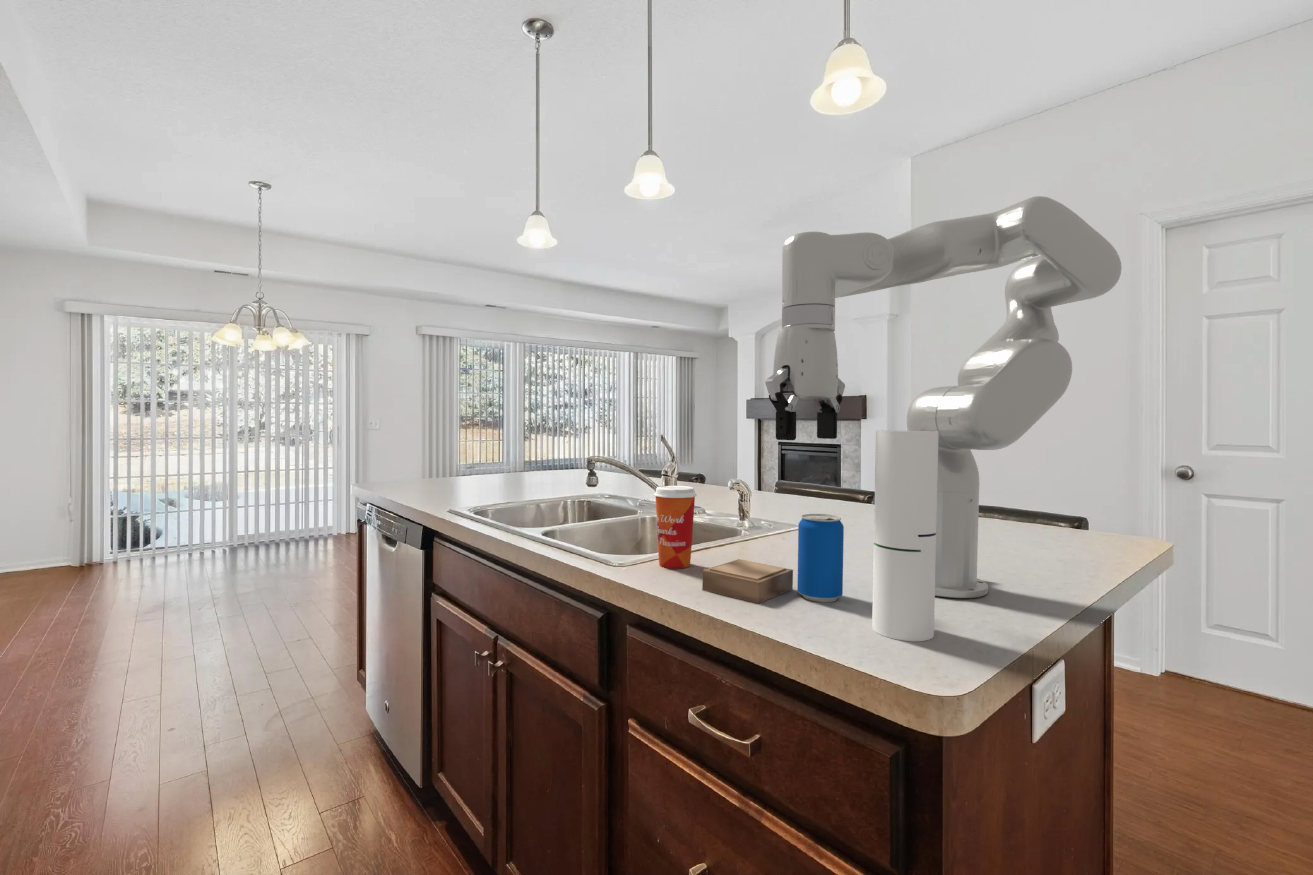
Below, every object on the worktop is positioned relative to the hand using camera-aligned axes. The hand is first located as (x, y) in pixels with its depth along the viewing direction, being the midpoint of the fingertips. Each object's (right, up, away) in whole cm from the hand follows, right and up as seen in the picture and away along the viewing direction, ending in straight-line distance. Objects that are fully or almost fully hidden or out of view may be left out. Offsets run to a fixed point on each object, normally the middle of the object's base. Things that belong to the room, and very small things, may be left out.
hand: (806, 439), depth 87 cm
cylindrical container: (+9, -24, -13) cm, 29 cm away
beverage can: (+2, -24, +1) cm, 24 cm away
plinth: (-8, -23, +5) cm, 25 cm away
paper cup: (-19, -23, +20) cm, 36 cm away
